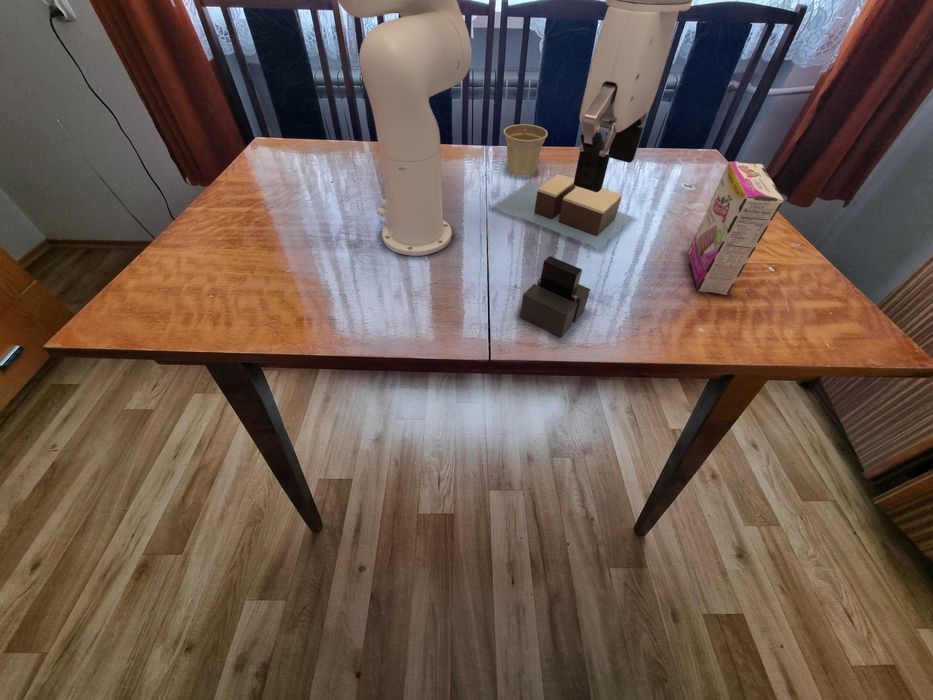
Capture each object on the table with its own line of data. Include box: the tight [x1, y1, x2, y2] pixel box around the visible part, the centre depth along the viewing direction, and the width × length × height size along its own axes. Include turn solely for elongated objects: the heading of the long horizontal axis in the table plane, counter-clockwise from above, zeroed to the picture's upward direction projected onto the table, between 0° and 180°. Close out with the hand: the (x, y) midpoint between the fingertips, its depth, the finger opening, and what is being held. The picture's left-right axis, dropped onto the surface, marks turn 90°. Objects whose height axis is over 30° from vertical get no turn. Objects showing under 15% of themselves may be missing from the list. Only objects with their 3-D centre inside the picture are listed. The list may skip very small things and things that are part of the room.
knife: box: [537, 255, 583, 303], centre depth 59 cm, size 6×2×9 cm, turn 52°
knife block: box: [519, 277, 591, 339], centre depth 61 cm, size 7×7×4 cm
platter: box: [493, 181, 632, 249], centre depth 83 cm, size 23×14×1 cm, turn 52°
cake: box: [559, 186, 623, 236], centre depth 78 cm, size 8×8×5 cm
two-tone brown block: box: [534, 173, 576, 220], centre depth 81 cm, size 4×8×5 cm, turn 142°
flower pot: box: [503, 123, 549, 177], centre depth 92 cm, size 9×9×9 cm
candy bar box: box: [687, 161, 785, 296], centre depth 64 cm, size 11×5×16 cm, turn 168°
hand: (604, 173), depth 50 cm, fingers open, 9 cm apart
